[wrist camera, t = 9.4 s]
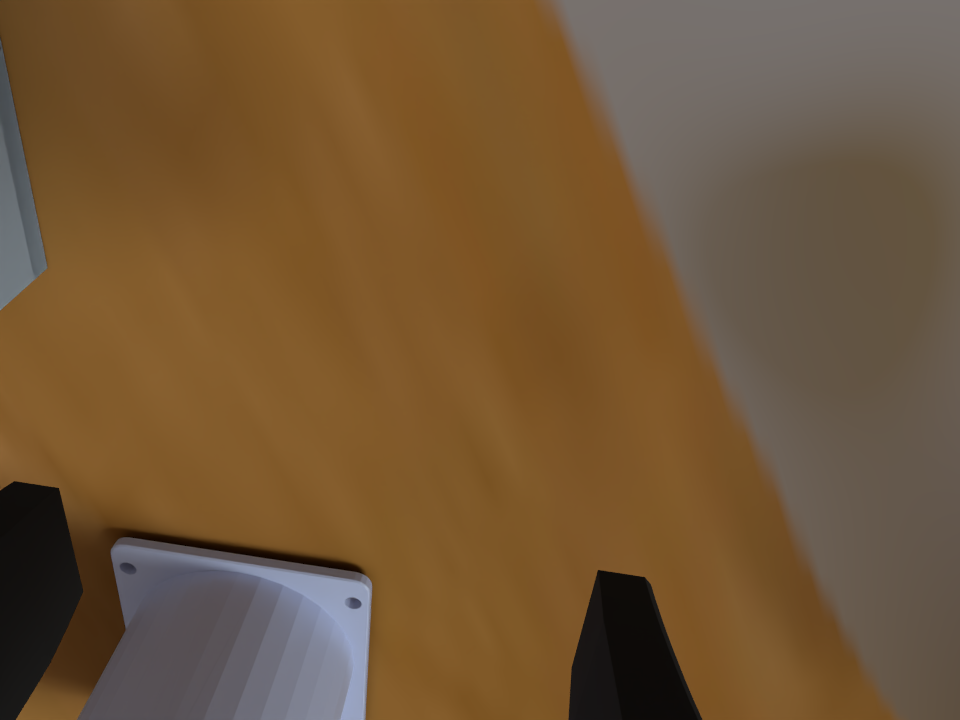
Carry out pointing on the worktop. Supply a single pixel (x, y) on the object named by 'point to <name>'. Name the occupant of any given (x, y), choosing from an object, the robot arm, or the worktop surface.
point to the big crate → (15, 204)
